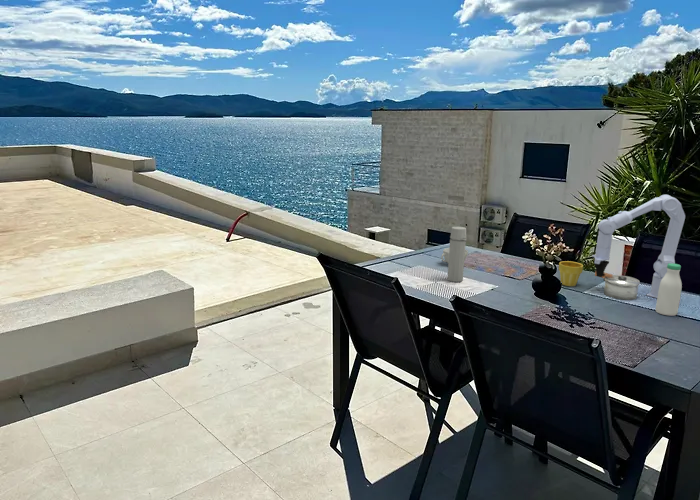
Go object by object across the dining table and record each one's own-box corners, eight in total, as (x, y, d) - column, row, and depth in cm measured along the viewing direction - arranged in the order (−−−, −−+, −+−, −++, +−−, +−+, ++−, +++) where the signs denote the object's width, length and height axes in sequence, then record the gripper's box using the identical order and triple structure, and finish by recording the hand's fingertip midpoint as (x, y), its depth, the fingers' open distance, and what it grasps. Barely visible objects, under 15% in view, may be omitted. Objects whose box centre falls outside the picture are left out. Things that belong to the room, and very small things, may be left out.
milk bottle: (676, 317, 213) (685, 268, 208) (654, 313, 217) (662, 265, 212) (677, 312, 219) (686, 264, 214) (655, 308, 223) (663, 260, 218)
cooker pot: (643, 299, 233) (645, 286, 232) (615, 300, 232) (617, 287, 230) (617, 286, 251) (619, 274, 249) (591, 287, 249) (592, 275, 248)
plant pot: (582, 288, 247) (585, 267, 245) (558, 286, 249) (561, 265, 247) (578, 282, 257) (580, 261, 255) (555, 280, 259) (557, 260, 257)
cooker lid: (645, 283, 236) (646, 278, 235) (629, 288, 228) (630, 283, 228) (604, 273, 251) (604, 268, 250) (587, 277, 243) (588, 272, 242)
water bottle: (456, 283, 250) (460, 230, 244) (443, 279, 255) (446, 227, 249) (469, 280, 256) (473, 228, 250) (455, 276, 261) (459, 225, 255)
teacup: (457, 261, 290) (458, 246, 288) (472, 266, 279) (473, 251, 277) (433, 263, 284) (434, 248, 282) (447, 269, 273) (448, 254, 271)
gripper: (598, 242, 248) (594, 271, 251) (589, 248, 237) (584, 278, 240) (615, 245, 244) (611, 274, 247) (606, 250, 233) (601, 281, 236)
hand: (599, 276), depth 243 cm, fingers closed
